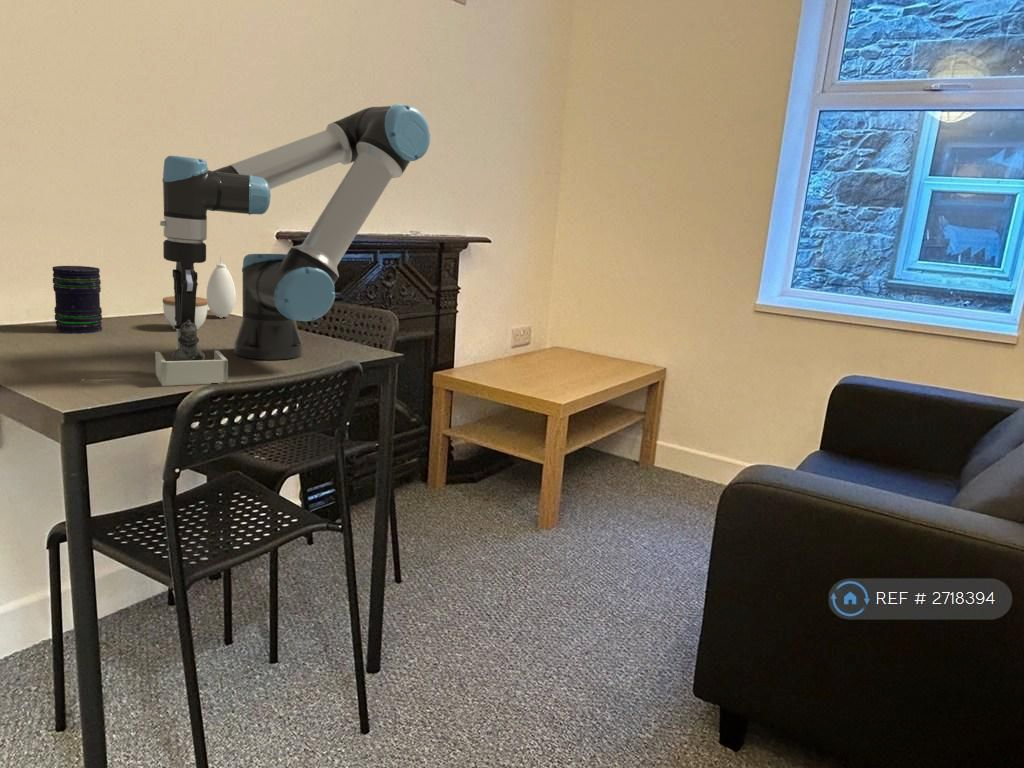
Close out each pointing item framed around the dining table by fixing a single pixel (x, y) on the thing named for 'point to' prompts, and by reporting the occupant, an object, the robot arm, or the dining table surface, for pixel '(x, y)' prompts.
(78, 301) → the storage jar
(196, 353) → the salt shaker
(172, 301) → the lidded jar
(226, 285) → the white elongated ovoid
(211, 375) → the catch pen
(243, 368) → the dining table surface
